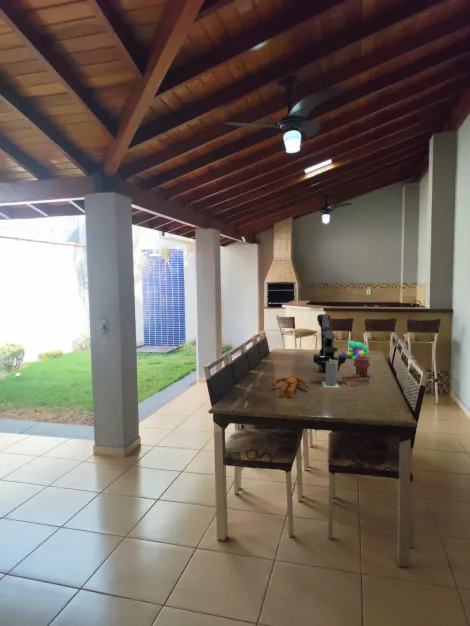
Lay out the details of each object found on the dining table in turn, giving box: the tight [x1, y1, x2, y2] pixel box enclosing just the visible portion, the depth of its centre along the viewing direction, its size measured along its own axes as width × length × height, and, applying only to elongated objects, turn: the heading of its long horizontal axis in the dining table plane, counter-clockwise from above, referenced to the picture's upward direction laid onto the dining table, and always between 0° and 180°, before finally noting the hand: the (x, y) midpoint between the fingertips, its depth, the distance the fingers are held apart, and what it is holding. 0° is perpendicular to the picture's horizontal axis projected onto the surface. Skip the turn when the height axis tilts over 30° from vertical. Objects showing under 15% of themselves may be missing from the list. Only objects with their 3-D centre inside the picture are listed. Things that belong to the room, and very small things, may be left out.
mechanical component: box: [353, 356, 371, 378], centre depth 262 cm, size 12×10×10 cm
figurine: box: [341, 340, 370, 361], centre depth 317 cm, size 18×14×20 cm
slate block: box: [325, 359, 336, 386], centre depth 241 cm, size 5×5×15 cm
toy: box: [272, 374, 309, 399], centre depth 233 cm, size 20×7×30 cm
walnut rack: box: [341, 374, 370, 388], centre depth 244 cm, size 9×12×4 cm
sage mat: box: [321, 381, 340, 388], centre depth 242 cm, size 12×9×1 cm
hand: (330, 370), depth 242 cm, fingers open, 9 cm apart
